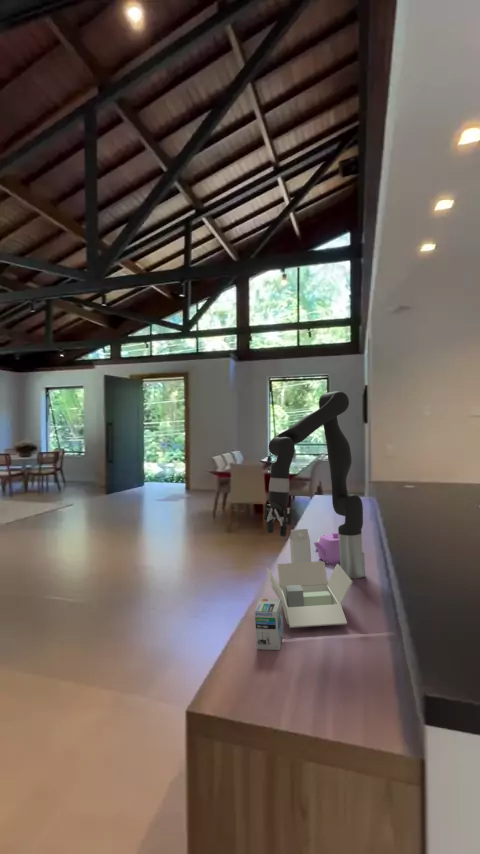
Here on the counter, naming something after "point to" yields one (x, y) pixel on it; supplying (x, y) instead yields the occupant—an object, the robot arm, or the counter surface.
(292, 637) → the counter surface
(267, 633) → the light bulb box
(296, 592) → the box
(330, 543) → the teakettle
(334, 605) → the carton
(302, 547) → the milk carton
